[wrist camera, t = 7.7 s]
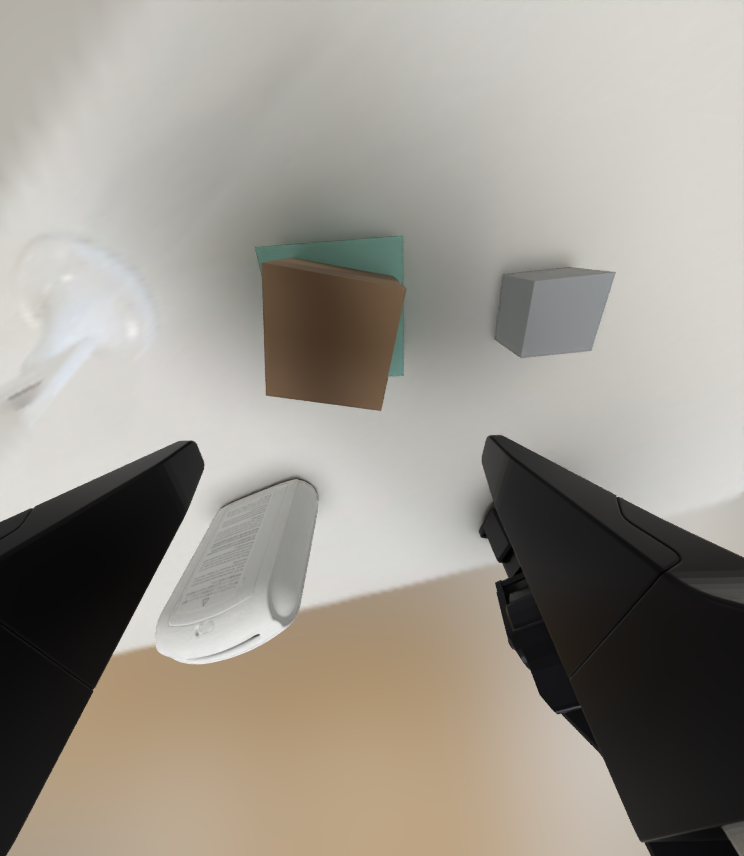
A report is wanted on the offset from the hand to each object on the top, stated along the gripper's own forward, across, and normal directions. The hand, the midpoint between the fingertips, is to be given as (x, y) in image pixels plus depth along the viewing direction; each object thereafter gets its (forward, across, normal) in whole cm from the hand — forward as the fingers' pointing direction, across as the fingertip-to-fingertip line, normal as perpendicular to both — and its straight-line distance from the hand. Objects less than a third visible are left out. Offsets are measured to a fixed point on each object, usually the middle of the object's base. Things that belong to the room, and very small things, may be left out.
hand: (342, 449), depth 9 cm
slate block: (+13, -11, -2) cm, 17 cm away
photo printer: (+13, +9, +16) cm, 22 cm away
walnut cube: (+9, +1, -2) cm, 9 cm away
